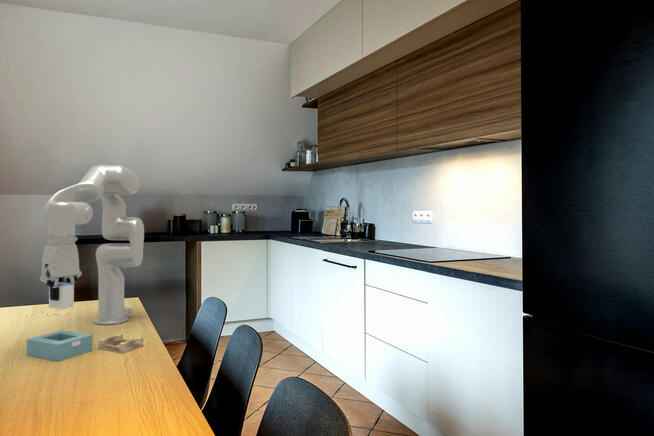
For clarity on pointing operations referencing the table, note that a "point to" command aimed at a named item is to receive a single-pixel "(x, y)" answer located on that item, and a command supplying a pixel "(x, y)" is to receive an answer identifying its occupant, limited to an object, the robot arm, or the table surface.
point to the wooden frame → (120, 343)
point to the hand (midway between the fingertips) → (61, 298)
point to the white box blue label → (63, 296)
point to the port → (59, 345)
